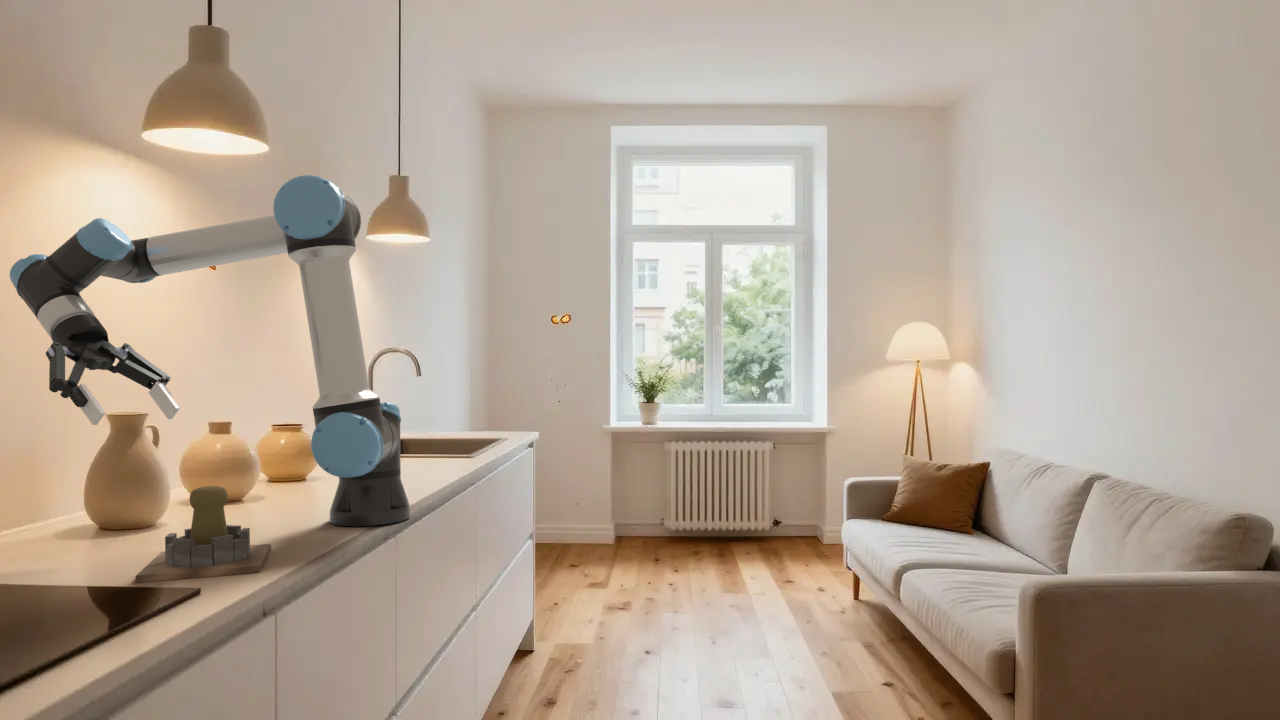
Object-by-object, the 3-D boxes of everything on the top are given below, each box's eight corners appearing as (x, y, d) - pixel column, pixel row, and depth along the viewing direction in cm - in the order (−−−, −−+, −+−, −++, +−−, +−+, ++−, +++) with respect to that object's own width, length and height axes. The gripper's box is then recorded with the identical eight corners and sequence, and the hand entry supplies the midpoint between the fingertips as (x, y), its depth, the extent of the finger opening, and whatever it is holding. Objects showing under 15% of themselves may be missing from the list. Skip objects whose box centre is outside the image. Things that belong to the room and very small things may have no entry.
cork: (212, 563, 122) (211, 489, 122) (177, 562, 124) (176, 489, 124) (239, 554, 128) (239, 484, 128) (206, 553, 129) (205, 483, 130)
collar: (270, 549, 136) (270, 519, 136) (259, 572, 121) (259, 538, 121) (161, 558, 131) (161, 526, 131) (135, 582, 116) (135, 547, 116)
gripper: (129, 344, 154) (190, 426, 149) (-16, 342, 130) (51, 438, 125) (150, 316, 152) (212, 397, 147) (7, 307, 128) (75, 404, 123)
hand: (138, 416), depth 136 cm, fingers open, 13 cm apart
